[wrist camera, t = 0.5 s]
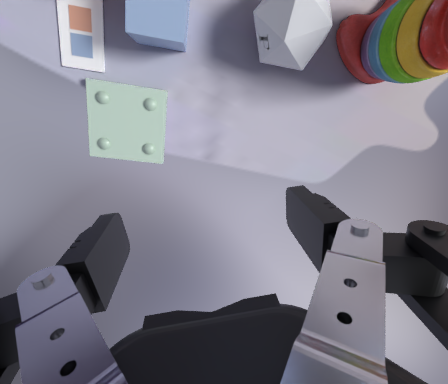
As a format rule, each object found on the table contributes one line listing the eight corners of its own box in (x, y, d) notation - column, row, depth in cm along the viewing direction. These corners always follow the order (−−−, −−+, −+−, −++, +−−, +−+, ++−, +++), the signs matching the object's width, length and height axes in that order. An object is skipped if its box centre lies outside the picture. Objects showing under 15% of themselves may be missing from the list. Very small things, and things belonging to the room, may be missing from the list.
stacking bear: (408, -15, 31) (643, -137, 15) (418, 64, 35) (613, 37, 19) (331, 25, 32) (475, -49, 16) (349, 98, 36) (479, 101, 20)
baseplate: (88, 78, 31) (84, 77, 30) (167, 90, 33) (166, 90, 32) (92, 154, 35) (89, 156, 34) (163, 162, 36) (162, 164, 35)
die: (258, -19, 30) (235, 1, 24) (337, -41, 27) (334, -25, 20) (266, 55, 36) (249, 86, 30) (332, 45, 32) (328, 77, 26)
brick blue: (138, -15, 28) (125, -42, 23) (190, -4, 29) (189, -27, 24) (137, 43, 30) (125, 31, 25) (185, 52, 31) (183, 42, 26)
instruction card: (56, -12, 28) (54, -13, 27) (102, -3, 28) (101, -4, 28) (62, 66, 30) (61, 65, 30) (104, 72, 31) (104, 72, 31)
